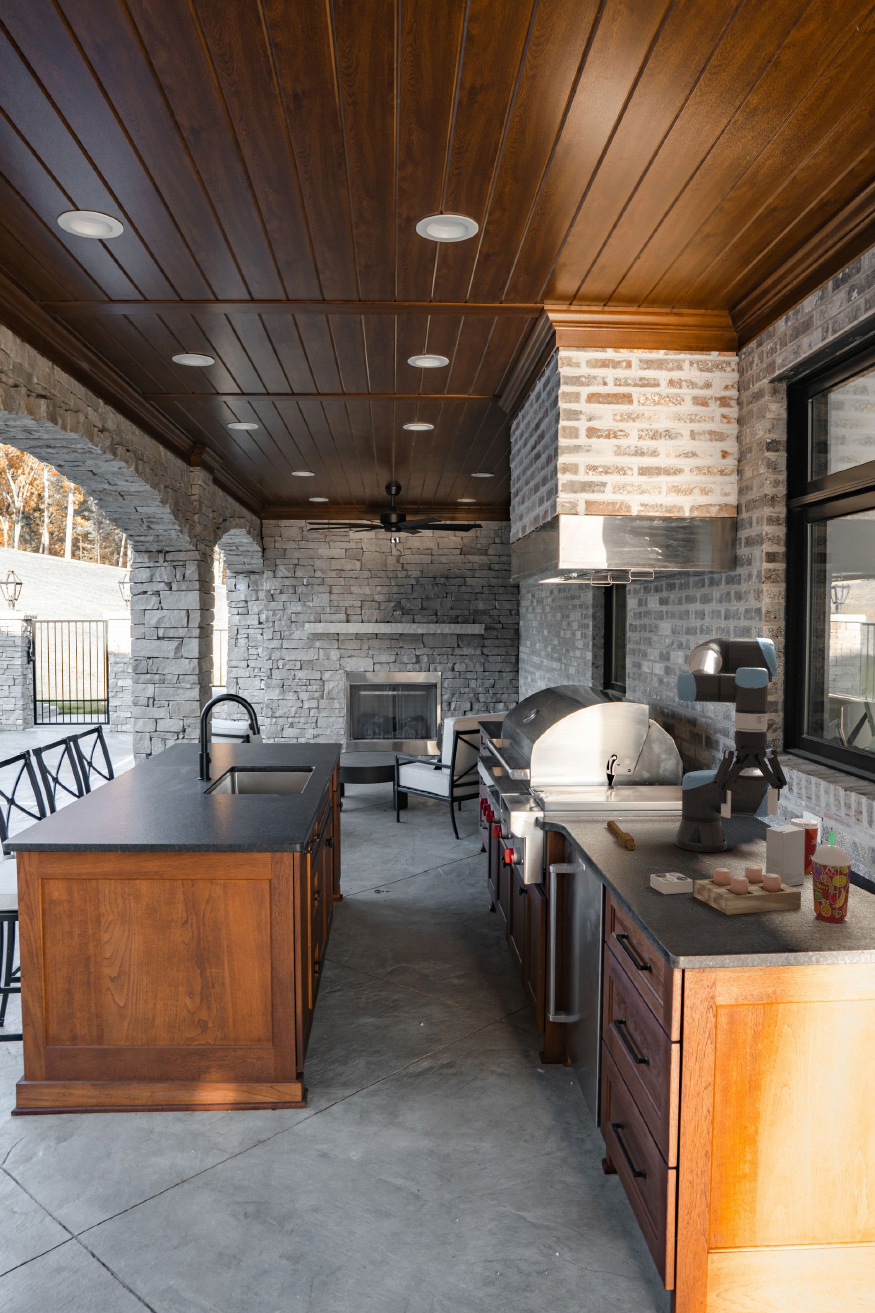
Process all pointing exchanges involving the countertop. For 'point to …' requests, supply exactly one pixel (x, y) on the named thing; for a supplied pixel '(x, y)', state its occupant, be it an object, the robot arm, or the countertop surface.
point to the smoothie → (831, 882)
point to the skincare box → (786, 853)
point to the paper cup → (808, 839)
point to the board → (746, 898)
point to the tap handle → (622, 836)
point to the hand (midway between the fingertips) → (749, 815)
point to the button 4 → (771, 883)
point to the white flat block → (671, 883)
